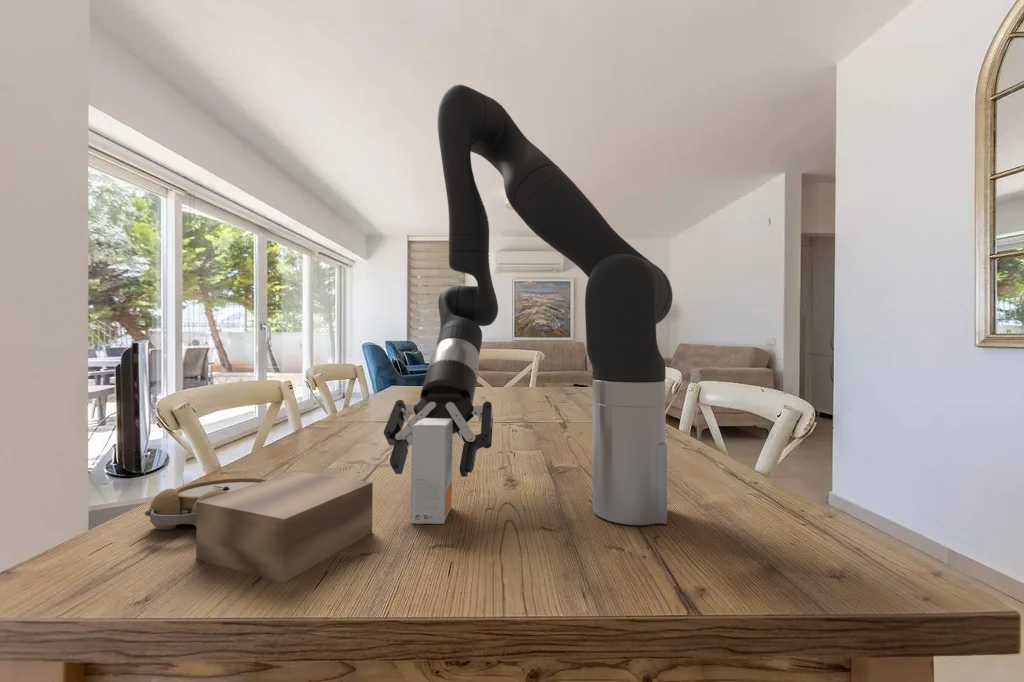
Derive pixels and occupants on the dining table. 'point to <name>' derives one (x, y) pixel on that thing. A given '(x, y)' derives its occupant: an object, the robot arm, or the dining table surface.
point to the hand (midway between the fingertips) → (429, 472)
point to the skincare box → (431, 470)
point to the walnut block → (283, 524)
